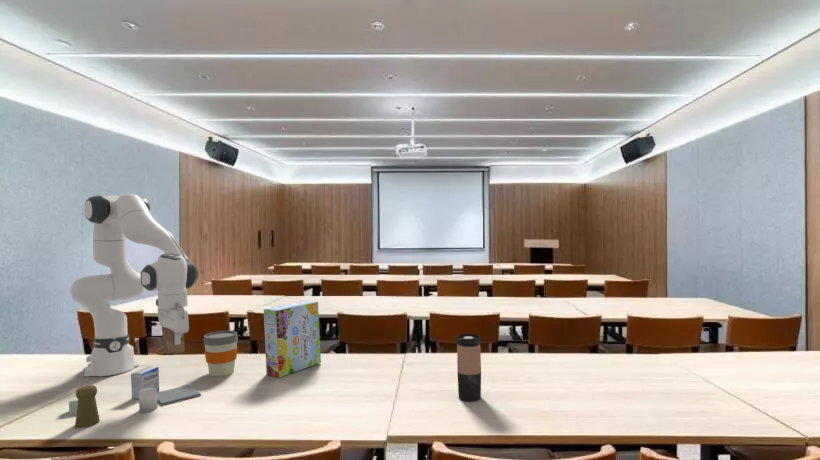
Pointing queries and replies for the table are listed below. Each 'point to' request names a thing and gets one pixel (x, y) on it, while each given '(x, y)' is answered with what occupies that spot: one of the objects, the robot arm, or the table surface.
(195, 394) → the slate mat
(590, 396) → the table surface
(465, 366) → the travel mug
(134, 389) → the medicine box
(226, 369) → the reusable coffee cup
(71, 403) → the sage green block
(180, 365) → the table surface
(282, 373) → the snack box
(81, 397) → the cork
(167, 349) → the walnut block
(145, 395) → the white smooth pebble
